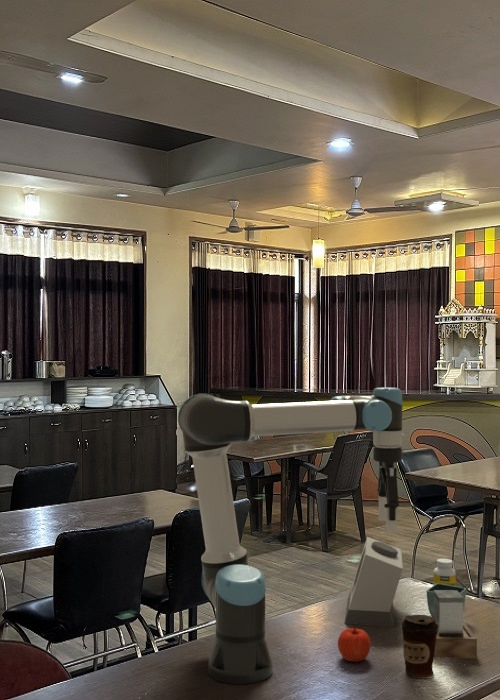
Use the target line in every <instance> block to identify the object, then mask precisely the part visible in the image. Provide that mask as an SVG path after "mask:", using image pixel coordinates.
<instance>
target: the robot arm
mask: <svg viewBox="0 0 500 700" xmlns="http://www.w3.org/2000/svg"><path fill="white" fill-rule="evenodd" d="M403 407H404V403H403V393H402V390H401V389H400V388H398V387H375V388H373V392H372V395H339V396H338V395H337V396H333V397H331V399H330V400H324V401H323V400H322V401H320V400H319V401H305V402H304V401H302V402H301V401H299V402H283V403H282V402H280V403H279V402H276V403H260V404H255V403H253V404H251V403H250V402H249V401H248V400H230V399H224V398H220V397H218V396H217V397H216V396H215V395H212V394H209V393H198V394H194V395H191V396H189V397H188V398H187V399H185V400H184V401H183V403H182V404H181V405H180V408H179V410H178V412H177V413H178V415H177V423H178V426H179V428H180V430H181V432H182V439H183V444H184V451H185V453H186V454H187V455H189V456H190V457H191V458H192V464H193V471H194V479H195V485H196V491H197V498H198V504H199V512H200V517H201V524H202V525H201V526H202V532H203V533H202V534H203V540H204V546H205V551H204V552H203V553H202V555H201V557H200V558H201V559H200V561H201V566H202V573H201V586H202V589H203V591H204V594H205V595H206V597H207V598H208V599H209V600H210V602H211V604H212V606H213V607H214V610H215V640H214V641H213V642H214V643H213V646H212V649H211V652H210V655H209V659H208V663H207V664H208V668H207V670H208V675H209V676H210V677H211V678H212V679H214V680H216V681H219V682H222V683H226V684H232V685H247V684H254V683H258V682H261V681H262V682H263V681H264V680H267V679H268V678H269V677H270V676H272V673H273V671H274V669H273V667H274V666H273V658H272V656H271V652H270V649H269V646H268V642H267V639H266V592H267V588H266V587H267V586H266V585H267V584H266V578H265V575H264V574H263V572H262V571H261V570H260V569H258V568H257V567H254V566H253V567H252V566H251V565H249V557H248V551H247V549H246V548H245V547H243V546H241V544H240V537H239V532H238V525H237V518H236V511H235V510H236V509H235V503H234V495H233V490H232V482H231V476H230V469H229V468H230V467H229V463H228V462H229V461H228V456H227V452H228V450H229V448H230V447H231V446H232V443H241V442H242V443H243V442H249V441H251V439H252V438H253V437H264V436H265V437H268V436H285V435H300V434H315V433H318V434H319V433H330V432H331V433H333V432H348V431H370V432H372V438H373V439H372V442H373V445H374V447H372V448H373V451H372V453H373V458H372V459H373V461H375V462H378V464H379V467H378V468H379V469H378V480H377V481H378V482H377V490H376V491H377V494H378V521H379V522H385V533H386V534H397V533H398V507H400V506H399V505H400V503H399V490H398V478H397V473H398V469H397V467H395V465H394V464H395V463H400V462H402V461H403V448H402V447H401V446H402V445H403V439H402V438H404V437H405V433H403Z"/></svg>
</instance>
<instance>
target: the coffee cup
mask: <svg viewBox="0 0 500 700" xmlns="http://www.w3.org/2000/svg"><path fill="white" fill-rule="evenodd" d="M435 621H436V619H435V618H433V617H432V616H431V615H428V614H407V615H405V616H404V619H403V620H402V622H401V630H402V648H403V650H402V653H403V658H404V664H405V665H404V666H405V669H404V671H405V673H406V675H408V676H410V677H412V678H418V679H428V678H429V679H430V678H433V676H434V675H435V674H434V671H433V664H434V659H435V658H434V657H435V651H436V637H437V633H438V624H437V623H435Z"/></svg>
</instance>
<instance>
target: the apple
mask: <svg viewBox="0 0 500 700" xmlns="http://www.w3.org/2000/svg"><path fill="white" fill-rule="evenodd" d="M356 627H357V626H353V627H352V628H351V627H350V628H346V629H344V630H342V631H341V632H340V634H339V636H338V639H337V648H338V651H339V653H340V655H341V657H343V658H344V659H345V660H346V661H348V662H353V663H357V662H358V663H359V662H361V661H364V660H365V659H366V658H367V657H368V655H369V653H370V650H371V644H372V643H371V639H370V635H368V633H367V632H366V631H365V630H364V629H361V628H360V629H359V628H356Z"/></svg>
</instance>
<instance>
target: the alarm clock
mask: <svg viewBox="0 0 500 700" xmlns="http://www.w3.org/2000/svg"><path fill="white" fill-rule="evenodd" d="M402 555H403V554H402V549H400V548H398V547H395V546H393V545H390V544H388V543H385V542H383V541H380V540H377V539H374V538H372V537H369V536H366V539H365V542H364V546H363V549H362V553H361V555H360V559H359V562H358V565H357V569H356V572H355V575H354V578H353V581H352V585H351V587H350V591H349V594H348V598H347V603H346V608H345V610H346V611H345V618H344V624H345V625H347V624H348V625H361V626H363V625H364V626H378V627H379V626H380V627H381V626H382V627H395V620H394V619H395V618H394V599H395V597H396V593H397V589H398V586H399V582H400V579H401V576H402V573H403V569H404V567H403V556H402Z"/></svg>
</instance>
